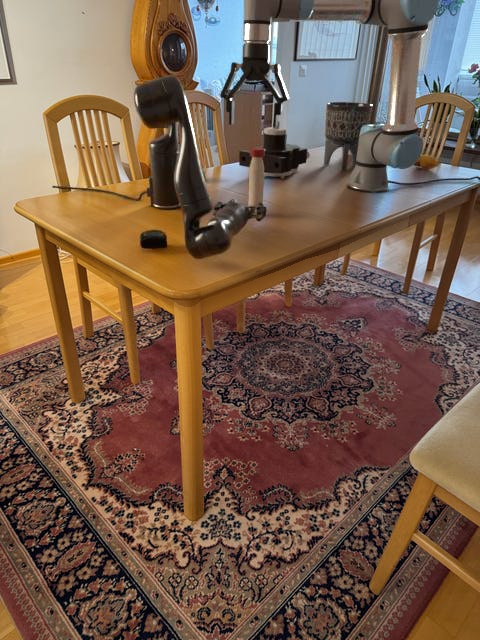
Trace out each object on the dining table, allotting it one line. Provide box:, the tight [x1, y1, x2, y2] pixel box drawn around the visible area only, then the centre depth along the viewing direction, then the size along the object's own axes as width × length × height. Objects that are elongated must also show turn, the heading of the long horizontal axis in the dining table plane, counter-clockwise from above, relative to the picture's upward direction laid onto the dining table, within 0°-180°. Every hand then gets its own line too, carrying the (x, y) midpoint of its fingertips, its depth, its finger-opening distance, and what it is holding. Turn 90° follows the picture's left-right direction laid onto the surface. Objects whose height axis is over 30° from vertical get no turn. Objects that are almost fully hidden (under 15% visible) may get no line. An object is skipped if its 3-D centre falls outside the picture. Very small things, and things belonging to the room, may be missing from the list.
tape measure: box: [139, 229, 168, 250], centre depth 117 cm, size 7×7×4 cm
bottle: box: [247, 157, 265, 213], centre depth 139 cm, size 4×4×20 cm
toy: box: [413, 154, 440, 170], centre depth 211 cm, size 11×6×15 cm
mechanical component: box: [238, 120, 311, 179], centre depth 191 cm, size 22×21×30 cm
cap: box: [249, 146, 265, 157], centre depth 135 cm, size 4×4×2 cm
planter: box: [323, 101, 374, 172], centre depth 204 cm, size 20×20×26 cm
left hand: (246, 204), depth 133 cm, fingers open, 8 cm apart
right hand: (253, 125), depth 136 cm, fingers open, 13 cm apart
